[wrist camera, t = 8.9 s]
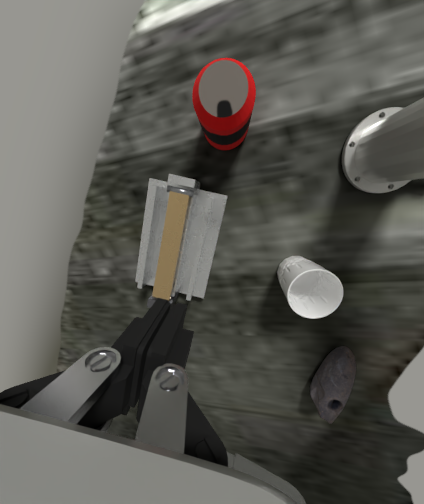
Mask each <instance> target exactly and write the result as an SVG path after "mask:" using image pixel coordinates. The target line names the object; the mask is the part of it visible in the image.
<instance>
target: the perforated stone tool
mask: <svg viewBox="0 0 424 504" xmlns="http://www.w3.org/2000/svg"><path fill="white" fill-rule="evenodd" d="M355 375H356V360H355V357H354V354H353V352H352V351H351V349H349V348H348V347H347V346H340V347H337V348H335V349H334V350H332V351H331V352H330V353H329V354H328V355H327V356H326V358H325V359H324V361H323V363H322V364H321V365H320V367H319V369H318V370H317V372H316V373H315V376H314V377H313V380H312V382H311V385H310V396H311V398H312V401H313V402H314V404H315V406H316V407H317V409H318V413H319V415H320V417H321V418H323V419H324V420H326V421H327V422H329V423H332V422H333V421H334V420H335V419H336V418H337V417H338V415H339V414H340V412H341V411H342V410H343V408H344V406H345V404H346V402H347V400H348V398H349V396H350V393H351V390H352V387H353V384H354V380H355Z"/></svg>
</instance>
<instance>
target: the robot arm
mask: <svg viewBox="0 0 424 504" xmlns="http://www.w3.org/2000/svg"><path fill="white" fill-rule="evenodd" d="M349 144H350V146H349ZM342 168H343V171H344V174H345V176H346V178H347V179H348V181H349V182H350V183H351V184H352V185H353V186H354V187H355V188H357V189H359V190H361V191H364V192H367V193H386V192H390V191H393V190H396V189H398V188H400V187H402V186H404V185H406V184H407V183H408V182H410V181H411V180H414V179H423V178H424V98H422V99H420V100H418V101H416V102H415V103H413V104H411V105H409V106H407V107H405V108H400V107H392V108H386V109H382V110H379V111H377V112H375V113H373V114H371V115H369V116H368V117H366V118H365V119H363V120H362V121H361V122H360V123H359V124H357V125H356V127H355V128H354V129H353V130H352V131H351V133H350V134H349V136H348V138H347V140H346V142H345V145H344V147H343V152H342ZM355 179H356V180H355ZM170 307H171V303H168V300H166V299H162V298H158V299H157V300H156V301H155V303H154V304H153V305H152V307H151V308H150V309H149V311H148V312H147V313H146V315H145V316H144V317H143V318H139V317H136V318H135V319H134V320H133V321H132V322H131V324H130V325H129V326H128V327H127V328H126V330H125V331H124V332H123V333H122V335H121V336H120V337H119V338H118V339H117V341H116V342H115V343H114V344H113V345H112V347H111V348H110V347H101V348H96V349H94V350H91V351H90V352H88V353H86V354H85V355H84V356H83V357H82V358H80V359H79V360H78V361H77V362H75V363H74V364H73V365H72V366H71V367H69V368H68V369H67V370H65V371H62V372H59V373H56V374H53V375H49V376H46V377H43V378H40V379H37V380H33V381H30V382H27V383H24V384H21V385H18V386H14V387H12V388H9V389H7V390H4V391H3V392H1V393H0V504H306V503H305V500H304V498H303V497H302V495H301V494H300V493H299V492H298V490H297V489H296V488H295V487H294V486H292V485H291V484H290V483H288V482H287V481H285V480H283V479H281V478H280V477H278V476H276V475H274V474H273V473H271V472H269V471H267V470H265V469H264V468H262V467H260V466H258V465H257V464H255V463H253V462H251V461H250V460H248V459H246V458H244V457H242V456H241V455H239V454H237V453H236V455H235V456H233V455H232V454H230V453H228V452H226V449H225V447H224V445H223V443H222V441H221V440H220V438H219V437H218V435H217V434H216V432H215V431H214V429H213V428H212V426H211V425H210V423H209V422H208V420H207V419H206V417H205V416H204V414H203V413H202V411H201V410H200V409H199V407H198V406H197V404H196V403H195V401H194V400H193V398H192V397H191V395H190V394H189V392H188V375H187V373H186V371H185V370H184V369H185V366H186V362H187V358H188V355H189V351H190V347H191V342H192V338H193V334H194V331H190V330H186V329H182V328H183V323H184V318H185V314H186V309H187V305H186V304H182V303H177V305H175V304H173V306H172V307H171V309H170ZM138 399H139V402H138V411H137V417H136V419H137V421H138V423H139V426H138V430H137V434H136V438H135V440H132V439H128V438H125V437H121V436H117V435H114V434H110V433H106V431H107V430H108V428H109V427H110V425H111V423H112V420H113V418H114V417H116V416H118V415H120V414H123V415H127V413H128V411H129V409H130V406H131V407H135V405H136V403H137V401H138Z"/></svg>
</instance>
